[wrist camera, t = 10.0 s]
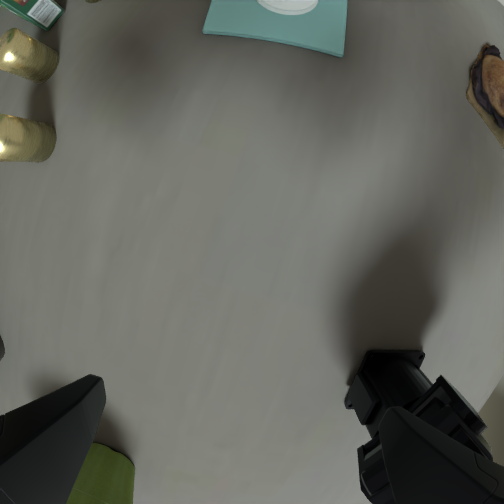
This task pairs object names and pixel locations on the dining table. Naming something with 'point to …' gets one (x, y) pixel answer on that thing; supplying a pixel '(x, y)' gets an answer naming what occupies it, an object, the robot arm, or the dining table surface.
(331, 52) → the felt pad
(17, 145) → the cylinder
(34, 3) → the coffee box
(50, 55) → the cylinder
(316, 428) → the dining table surface
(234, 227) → the dining table surface
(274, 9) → the chess piece
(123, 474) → the plant pot
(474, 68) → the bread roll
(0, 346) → the coffee cup
